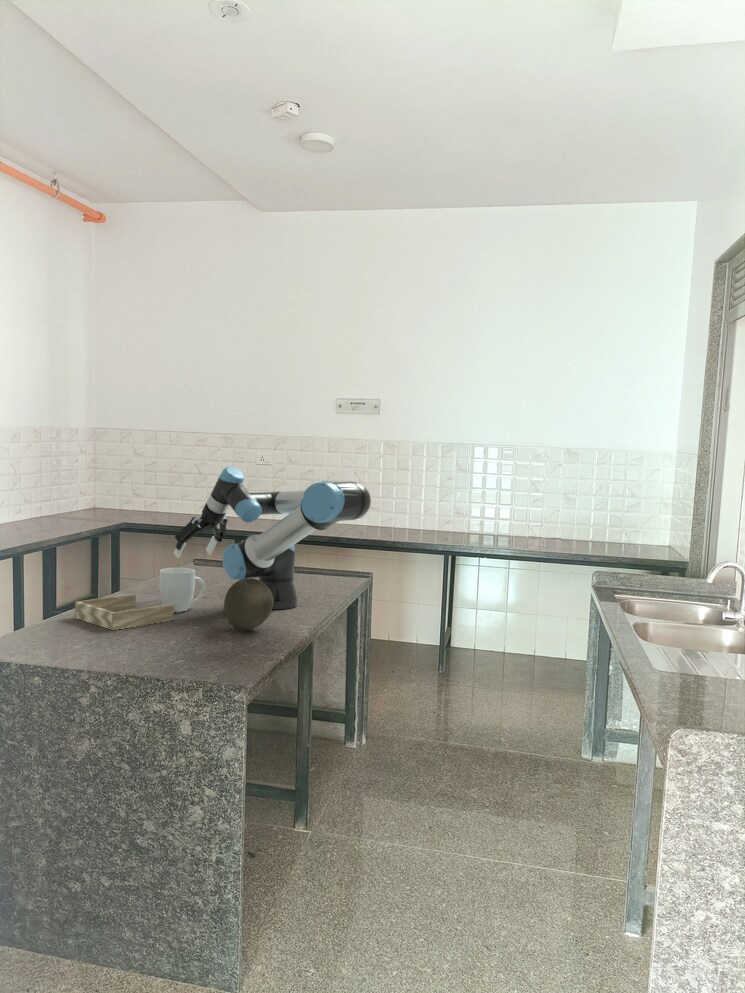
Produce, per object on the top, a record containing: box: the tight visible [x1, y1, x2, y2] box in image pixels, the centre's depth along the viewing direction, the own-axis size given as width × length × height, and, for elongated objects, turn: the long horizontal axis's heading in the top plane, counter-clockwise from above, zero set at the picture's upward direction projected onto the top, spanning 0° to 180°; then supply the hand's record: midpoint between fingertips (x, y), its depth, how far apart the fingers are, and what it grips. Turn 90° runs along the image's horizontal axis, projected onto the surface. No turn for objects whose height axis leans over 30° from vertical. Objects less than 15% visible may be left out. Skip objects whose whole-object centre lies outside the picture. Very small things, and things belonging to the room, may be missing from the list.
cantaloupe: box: [223, 578, 274, 631], centre depth 214 cm, size 14×14×15 cm
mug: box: [158, 567, 205, 613], centre depth 236 cm, size 15×11×13 cm
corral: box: [74, 593, 175, 631], centre depth 220 cm, size 21×20×5 cm
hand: (192, 554), depth 256 cm, fingers open, 13 cm apart
